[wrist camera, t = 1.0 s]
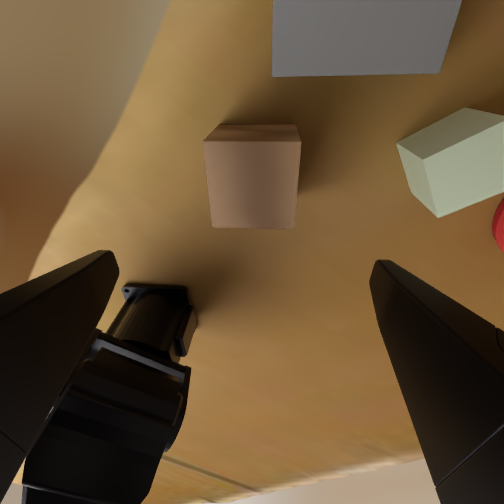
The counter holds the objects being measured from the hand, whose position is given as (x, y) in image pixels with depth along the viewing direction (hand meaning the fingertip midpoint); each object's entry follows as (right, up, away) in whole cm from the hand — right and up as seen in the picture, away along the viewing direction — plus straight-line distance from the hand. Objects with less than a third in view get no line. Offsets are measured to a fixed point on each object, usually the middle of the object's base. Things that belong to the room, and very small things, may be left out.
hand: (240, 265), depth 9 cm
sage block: (+13, +7, +9) cm, 17 cm away
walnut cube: (+1, +7, +10) cm, 12 cm away
